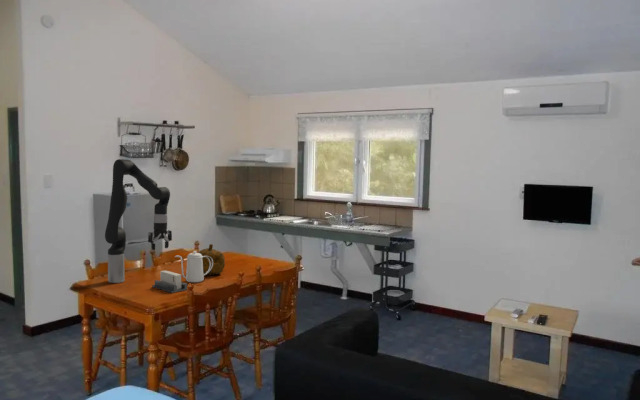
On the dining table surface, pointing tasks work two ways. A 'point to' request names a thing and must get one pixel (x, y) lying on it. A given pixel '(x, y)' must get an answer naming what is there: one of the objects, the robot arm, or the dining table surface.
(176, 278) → the white rectangular block
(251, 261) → the dining table surface
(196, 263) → the coffeepot
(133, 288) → the dining table surface
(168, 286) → the bottom track
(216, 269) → the decorative pumpkin
